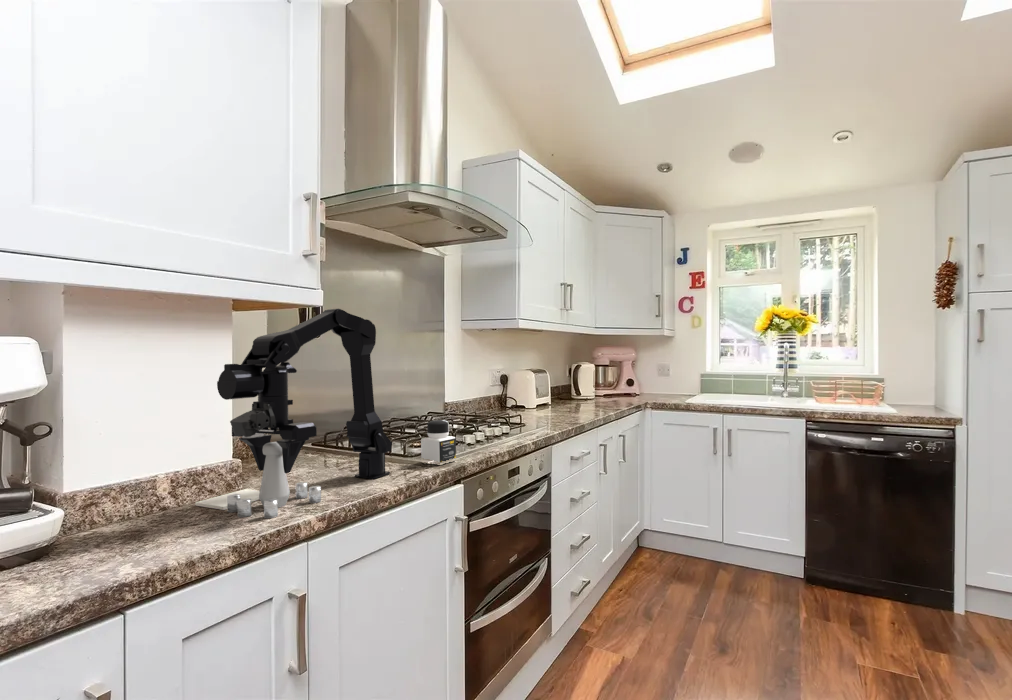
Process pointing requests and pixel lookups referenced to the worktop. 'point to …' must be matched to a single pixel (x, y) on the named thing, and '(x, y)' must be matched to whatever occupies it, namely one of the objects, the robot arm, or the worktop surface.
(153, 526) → the worktop surface
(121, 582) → the worktop surface
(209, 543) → the worktop surface
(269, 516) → the spacer field
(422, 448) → the medicine bottle
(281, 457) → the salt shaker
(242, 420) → the robot arm
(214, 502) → the pad
